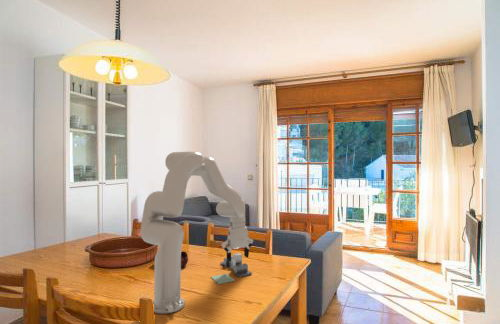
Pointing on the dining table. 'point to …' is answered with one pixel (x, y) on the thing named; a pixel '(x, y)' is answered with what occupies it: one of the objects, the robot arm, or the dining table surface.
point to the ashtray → (182, 258)
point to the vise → (238, 268)
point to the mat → (222, 278)
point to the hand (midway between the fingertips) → (237, 258)
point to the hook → (235, 261)
